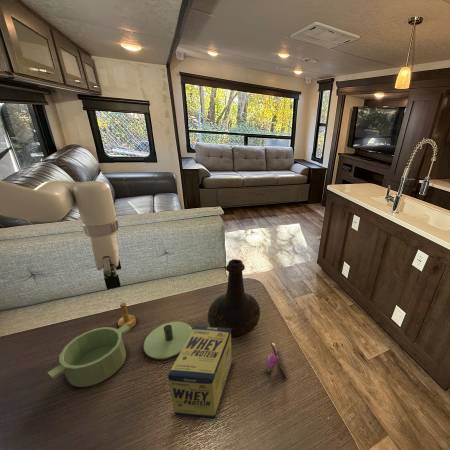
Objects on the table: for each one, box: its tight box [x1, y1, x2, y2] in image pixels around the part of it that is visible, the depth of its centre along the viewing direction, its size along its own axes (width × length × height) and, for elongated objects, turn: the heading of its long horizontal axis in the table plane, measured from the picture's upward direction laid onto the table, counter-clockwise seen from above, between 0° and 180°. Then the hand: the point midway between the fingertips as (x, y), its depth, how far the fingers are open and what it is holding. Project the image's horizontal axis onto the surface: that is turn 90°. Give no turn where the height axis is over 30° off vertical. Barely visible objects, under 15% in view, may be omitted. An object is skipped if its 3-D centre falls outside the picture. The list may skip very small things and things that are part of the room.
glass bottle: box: [207, 258, 261, 340], centre depth 84 cm, size 18×18×28 cm
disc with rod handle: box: [117, 302, 137, 329], centre depth 85 cm, size 5×5×9 cm
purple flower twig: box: [266, 341, 287, 379], centre depth 75 cm, size 7×5×9 cm
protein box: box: [167, 324, 233, 420], centre depth 66 cm, size 10×16×16 cm
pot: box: [46, 325, 131, 388], centre depth 71 cm, size 14×19×8 cm
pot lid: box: [143, 321, 193, 360], centre depth 81 cm, size 15×15×6 cm
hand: (114, 278), depth 74 cm, fingers open, 9 cm apart
